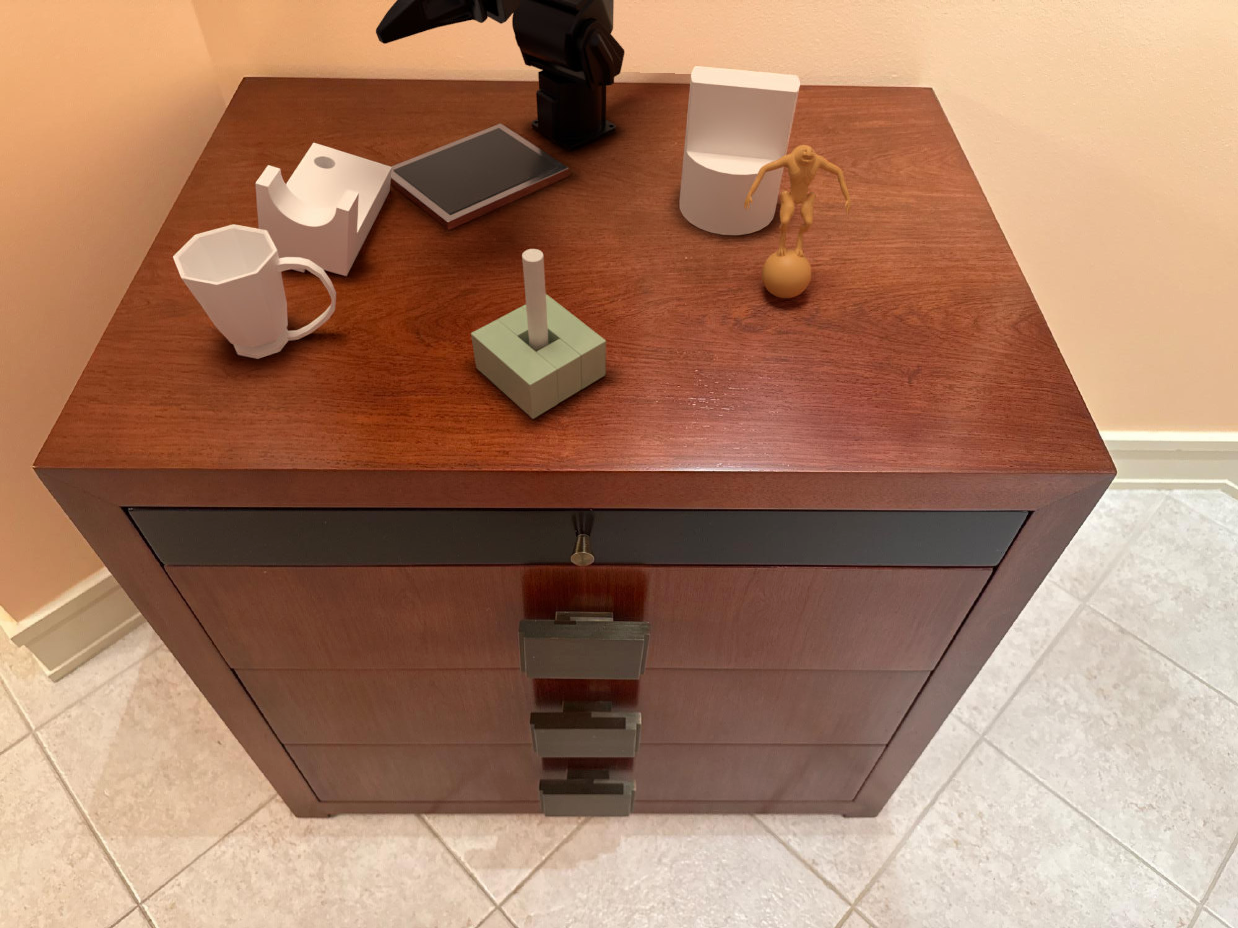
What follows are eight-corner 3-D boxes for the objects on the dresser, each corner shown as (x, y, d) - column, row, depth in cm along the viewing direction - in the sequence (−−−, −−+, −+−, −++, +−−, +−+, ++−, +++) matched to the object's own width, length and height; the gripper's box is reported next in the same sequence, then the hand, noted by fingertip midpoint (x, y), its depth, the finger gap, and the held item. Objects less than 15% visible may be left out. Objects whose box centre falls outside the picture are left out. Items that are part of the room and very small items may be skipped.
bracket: (346, 284, 69) (348, 211, 63) (260, 260, 67) (255, 183, 62) (389, 199, 77) (394, 127, 71) (313, 176, 76) (313, 101, 70)
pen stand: (547, 328, 64) (545, 293, 62) (605, 375, 61) (606, 340, 58) (475, 368, 61) (470, 333, 59) (532, 419, 58) (529, 385, 55)
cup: (222, 313, 64) (182, 226, 58) (350, 304, 66) (324, 217, 59) (206, 374, 60) (161, 287, 54) (344, 363, 61) (315, 277, 55)
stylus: (542, 362, 62) (534, 246, 54) (553, 372, 61) (547, 255, 53) (527, 371, 61) (517, 254, 53) (539, 380, 61) (530, 264, 52)
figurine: (734, 306, 67) (757, 173, 57) (730, 261, 70) (750, 130, 61) (834, 310, 67) (873, 178, 57) (825, 265, 70) (860, 135, 61)
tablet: (501, 131, 84) (500, 122, 83) (569, 176, 78) (569, 166, 78) (383, 178, 77) (381, 169, 77) (449, 230, 72) (447, 220, 72)
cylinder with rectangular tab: (776, 186, 78) (800, 59, 69) (773, 240, 73) (799, 110, 63) (684, 176, 79) (696, 50, 70) (674, 229, 73) (685, 99, 64)
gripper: (318, -330, 51) (155, -169, 48) (558, -212, 49) (400, -33, 46) (373, -157, 62) (243, -16, 59) (572, -52, 59) (446, 102, 56)
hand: (326, 7), depth 55 cm, fingers open, 9 cm apart
